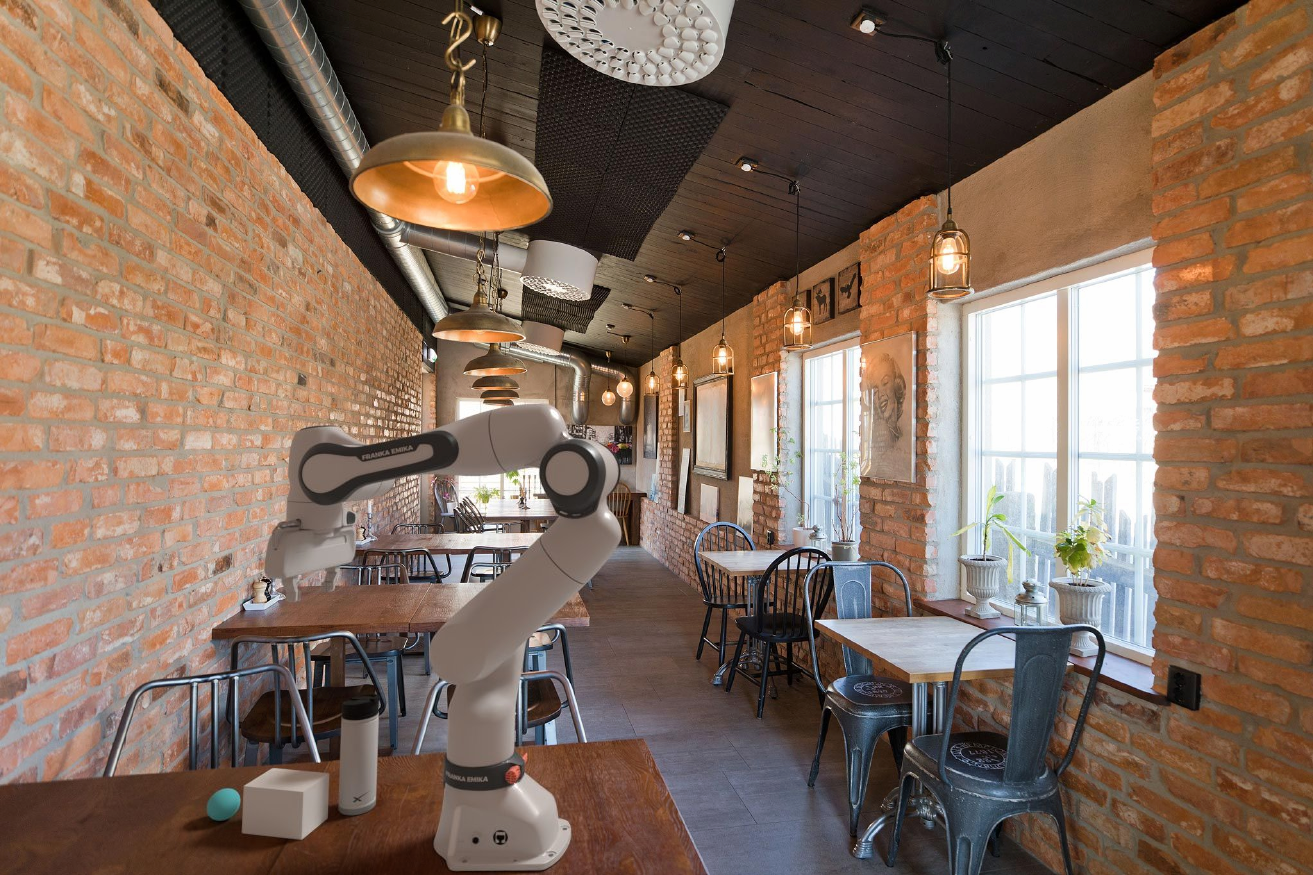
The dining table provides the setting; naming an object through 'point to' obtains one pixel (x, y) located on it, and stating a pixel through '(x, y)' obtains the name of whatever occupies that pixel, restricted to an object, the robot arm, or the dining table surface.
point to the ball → (223, 804)
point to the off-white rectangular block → (285, 803)
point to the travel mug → (358, 754)
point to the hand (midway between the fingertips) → (311, 596)
